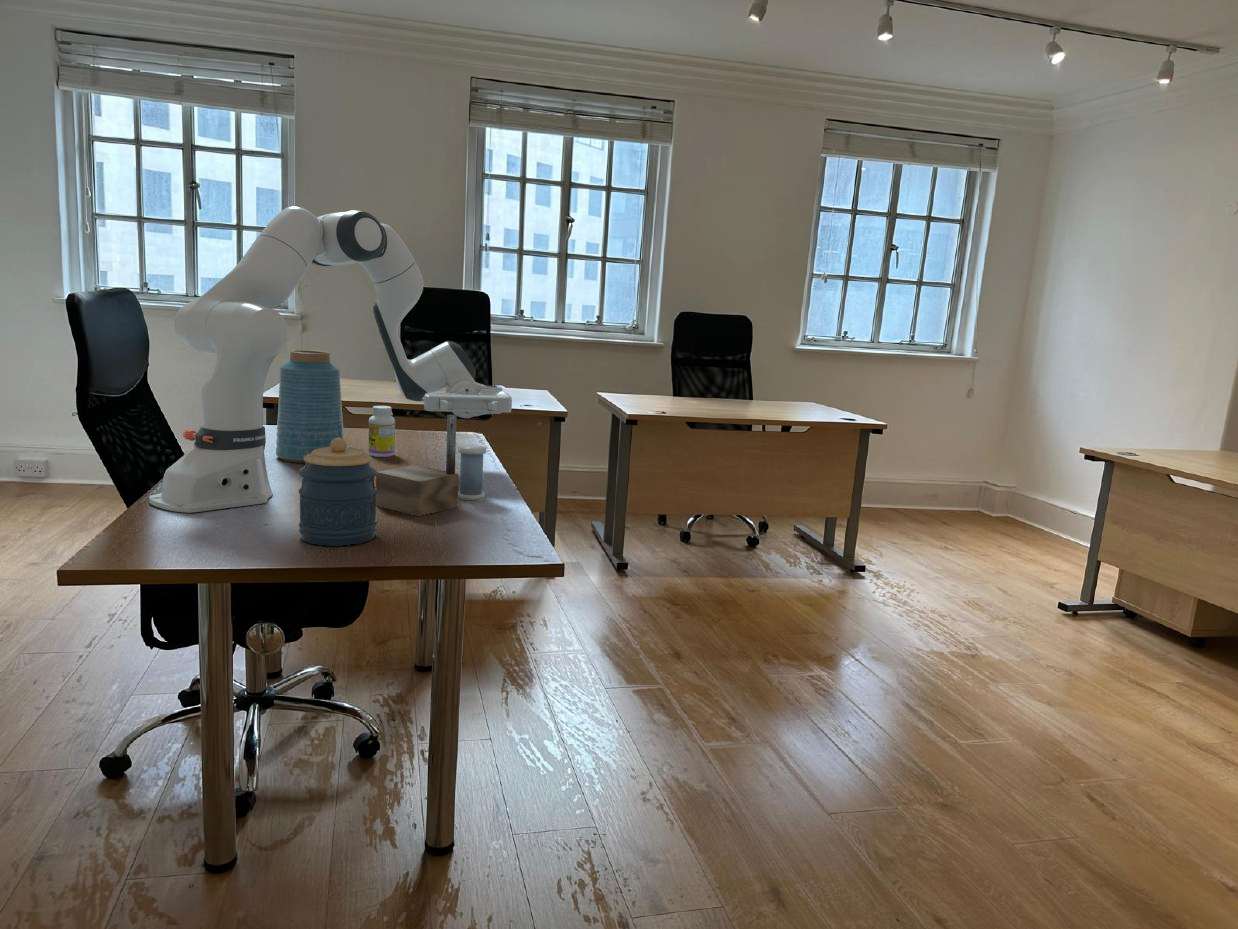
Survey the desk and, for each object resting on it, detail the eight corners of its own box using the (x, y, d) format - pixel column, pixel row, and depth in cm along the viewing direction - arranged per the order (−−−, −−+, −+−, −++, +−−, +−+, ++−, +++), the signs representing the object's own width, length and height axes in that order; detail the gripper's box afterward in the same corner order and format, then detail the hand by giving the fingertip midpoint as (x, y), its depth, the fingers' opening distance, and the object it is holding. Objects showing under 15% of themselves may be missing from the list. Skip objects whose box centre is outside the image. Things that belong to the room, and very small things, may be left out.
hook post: (447, 478, 167) (448, 418, 165) (445, 472, 173) (447, 414, 171) (456, 478, 168) (458, 419, 165) (454, 472, 173) (456, 414, 171)
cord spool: (471, 502, 179) (473, 451, 177) (450, 497, 182) (452, 446, 180) (490, 497, 184) (492, 447, 182) (469, 492, 187) (471, 443, 185)
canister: (333, 523, 156) (333, 429, 153) (391, 534, 152) (393, 437, 149) (282, 539, 144) (280, 438, 141) (343, 552, 140) (344, 447, 137)
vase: (274, 452, 216) (272, 347, 211) (340, 451, 223) (340, 350, 218) (278, 465, 202) (276, 353, 197) (348, 463, 209) (349, 355, 204)
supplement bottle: (366, 453, 223) (366, 405, 221) (391, 452, 226) (392, 405, 224) (371, 458, 218) (371, 408, 215) (397, 457, 221) (397, 408, 218)
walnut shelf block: (418, 516, 165) (419, 481, 163) (375, 505, 171) (376, 471, 169) (457, 507, 174) (458, 473, 172) (415, 497, 180) (416, 464, 179)
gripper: (421, 384, 200) (423, 392, 187) (507, 387, 205) (515, 394, 192) (421, 411, 201) (422, 420, 188) (507, 412, 207) (514, 421, 194)
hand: (470, 407), depth 190 cm, fingers open, 8 cm apart
